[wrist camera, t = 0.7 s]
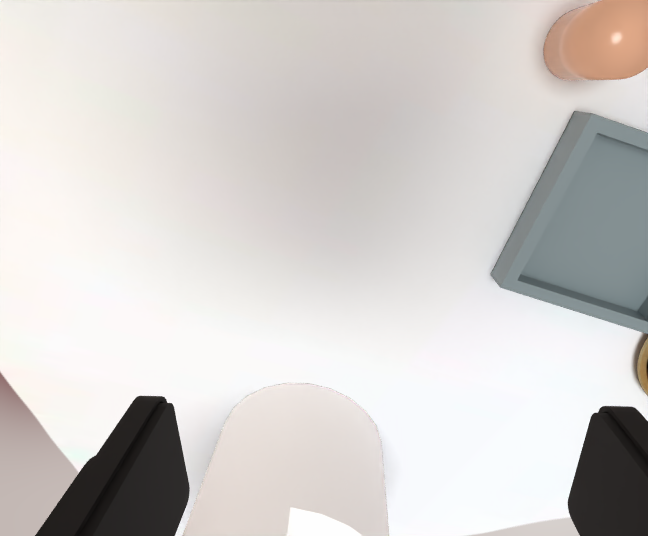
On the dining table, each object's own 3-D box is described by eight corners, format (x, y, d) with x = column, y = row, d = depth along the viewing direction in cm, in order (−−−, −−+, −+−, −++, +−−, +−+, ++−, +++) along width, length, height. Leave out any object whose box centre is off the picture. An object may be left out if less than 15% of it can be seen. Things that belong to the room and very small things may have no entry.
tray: (574, 111, 32) (592, 113, 30) (741, 169, 33) (772, 176, 31) (490, 274, 38) (500, 287, 35) (636, 320, 39) (655, 336, 36)
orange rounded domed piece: (564, -3, 30) (612, -23, 24) (625, 20, 30) (687, 5, 24) (531, 68, 31) (570, 65, 26) (589, 89, 32) (640, 90, 26)
